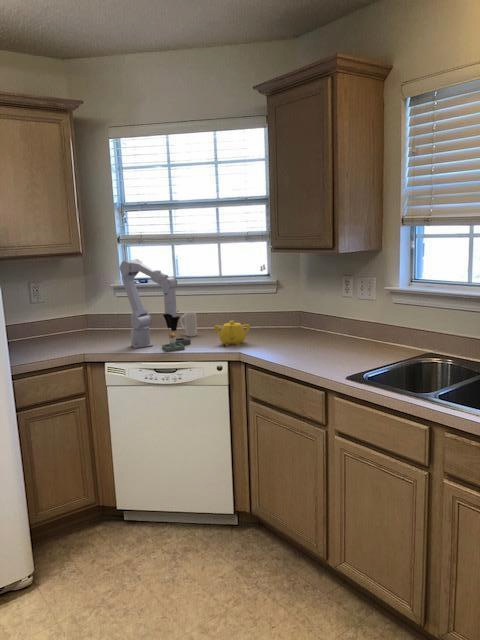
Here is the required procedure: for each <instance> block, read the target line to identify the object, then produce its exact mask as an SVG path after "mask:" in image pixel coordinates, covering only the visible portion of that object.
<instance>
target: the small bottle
mask: <svg viewBox="0 0 480 640" xmlns="http://www.w3.org/2000/svg"><path fill="white" fill-rule="evenodd" d="M168 336H169V337H168V338H169V344H170V348H171V347H176V333H173V332H172V333H168Z"/></svg>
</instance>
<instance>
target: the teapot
mask: <svg viewBox="0 0 480 640" xmlns="http://www.w3.org/2000/svg"><path fill="white" fill-rule="evenodd" d="M245 327H246V330H245V329H244V328H245ZM218 328H219V329H220V328H221V329H220V330H219V329H218ZM250 328H251V325H250V324H248V323H247V324H246V323H245V324H241V323H240V322H236V321H235V320H229V322H227V323H224V324H222V325H218V324H217V325H216V324H215V325H214V330H215V332H216V333H217V335H218V336H219V339H220V341H221V343H222V344H224V346H225V347H229V346H231V345H230V344H235V346H237V345H240V346H241V345H242V343H243V342H244V341H245V339H246V336H247V334H248V333H249V331H250Z"/></svg>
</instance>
